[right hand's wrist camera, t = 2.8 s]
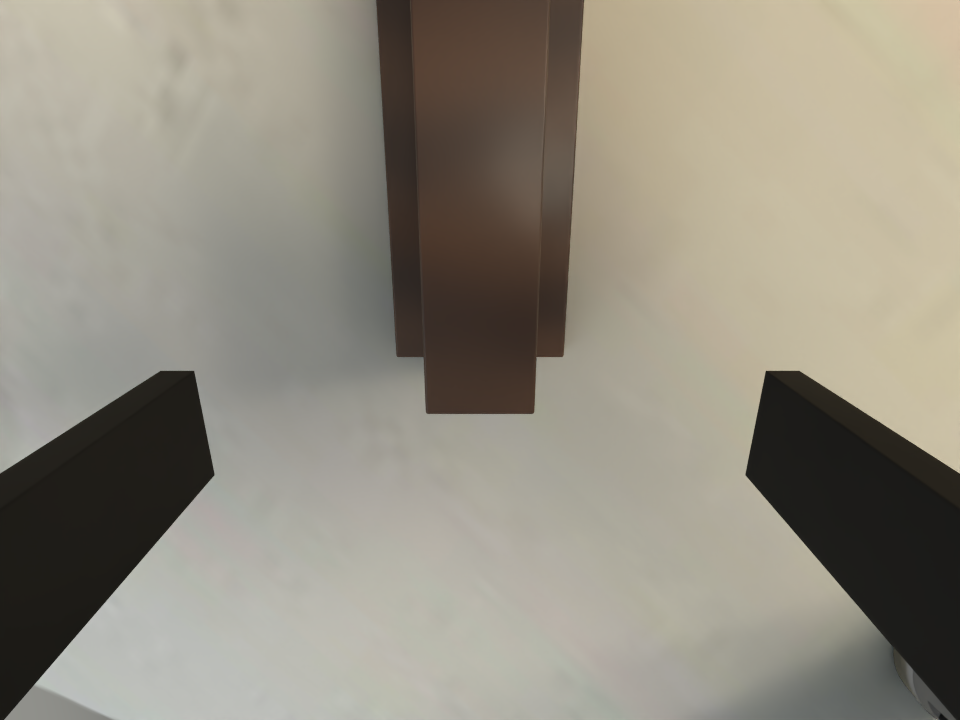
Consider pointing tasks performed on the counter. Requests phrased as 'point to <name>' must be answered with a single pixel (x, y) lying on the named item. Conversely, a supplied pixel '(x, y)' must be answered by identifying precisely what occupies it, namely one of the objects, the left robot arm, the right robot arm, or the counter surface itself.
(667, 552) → the counter surface
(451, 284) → the rail
